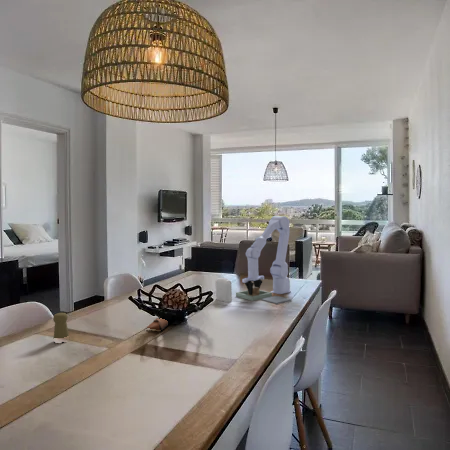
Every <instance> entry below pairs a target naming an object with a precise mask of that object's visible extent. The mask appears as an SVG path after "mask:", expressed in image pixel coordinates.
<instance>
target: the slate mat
mask: <svg viewBox="0 0 450 450" xmlns="http://www.w3.org/2000/svg"><path fill="white" fill-rule="evenodd" d="M261 301H262V302H263V301H264V302H268V303H271V304H274V305H280V304H284V303H285V304H286V303H289V302H292V298H287V297H283V296H279V295H272V297H268V298H263V299H261Z"/></svg>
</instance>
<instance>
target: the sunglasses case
mask: <svg viewBox="0 0 450 450" xmlns="http://www.w3.org/2000/svg"><path fill="white" fill-rule="evenodd" d="M168 326H169V325H168V321H167V320H165V319H162V318H160V319H159V318H158V317H157V318H155V319H153V321H152V322H151V323H150V324H149V325H147V326H146V327H147V328H150V329H156V330H163V329H164V330H165V329H166V327H168ZM164 330H163V331H164Z"/></svg>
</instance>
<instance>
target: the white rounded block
mask: <svg viewBox="0 0 450 450" xmlns="http://www.w3.org/2000/svg"><path fill="white" fill-rule="evenodd" d="M232 290H233V289H232V281H231V280H230V279H228V278H225V277H218V278H216V280H215V299H216V300H217V301H221V302H225V303H231V302H232V300H233V296H232V295H233V294H232V293H233V292H232Z"/></svg>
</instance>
